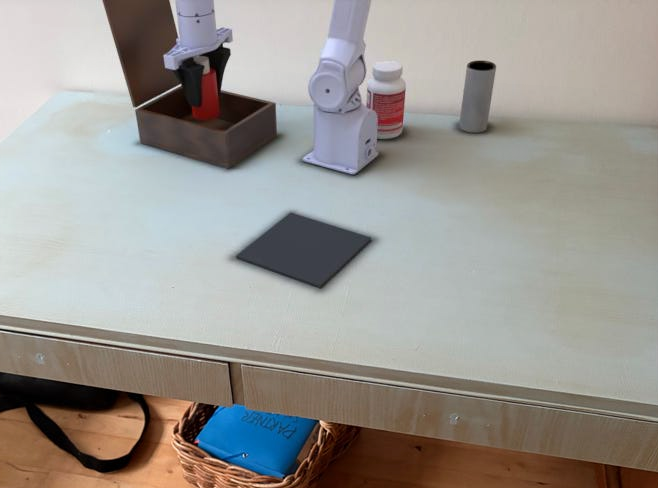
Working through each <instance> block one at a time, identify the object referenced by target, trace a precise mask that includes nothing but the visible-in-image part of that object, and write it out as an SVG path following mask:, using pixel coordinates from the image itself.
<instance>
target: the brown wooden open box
mask: <svg viewBox="0 0 658 488" xmlns="http://www.w3.org/2000/svg"><path fill="white" fill-rule="evenodd" d="M218 102H219V116H218V117H216V118H213V119H210V120H199V119H196V118H194V117H193V113H192V106H191V105H189V103H188V100H187V98H186V95H185V92H184V90H183V88H182V86H181V85H179V86H177V87H175V88H173V89H171V90H169V91H167V92H165V93H163V94H161V95H159V96H158V97H156V98H154V99H152V100H150V101H148V102H146V103H144V104H142V105H140V107H139V106H138V107H137V108H136V109H135V110H134V113H135V118H136V123H137V131H138V137H139V142H140V144H143V145H146V146H149V147H153V148H155V149H159V150H163V151H166V152H168V153H169V152H170V153H173V154H176V155H180V156H183V157H187V158H189V159H193V160H197V161H200V162H204V163H207V164H209V165H213V166H217V167H220V168H224V169H226V170H227V169H230V168H232V167H233V166H235V165H236V164H238V163H240V161H243V160H244V159H245V158H247V157H248V156H250V155H252V153H254V152H256V151H257V150H259V149H261V147H263V146H264V145H266V144H268V143H270V141H273V140H274V139H275V138H277V137H278V130H277V105H276V102H274V101H270V100H267V99H266V100H265V99H261V98H258V97H253V96H249V95H244V94H240V93H235V92H232V91H227V90H224V89H223V90H222V89H221V92H220V96H218Z"/></svg>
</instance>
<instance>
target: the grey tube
mask: <svg viewBox="0 0 658 488" xmlns="http://www.w3.org/2000/svg"><path fill="white" fill-rule="evenodd" d="M465 69H466V70H465V77H464V85H463V93H462V101H461V109H460V117H459V129H460V130H462V131H463V132H467V133H473V134H476V133H477V134H478V133H482V132H484V131H487V128H488V123H489V118H490V117H489V116H490V110H491V103H492V98H493V97H492V96H493V92H494V91H493V90H494V84H495V79H496V78H495V77H496V71H497V64H495V63H494V62H492V61H489V60H481V59H480V60H479V59H478V60H472V61H470V62H468V63H467V65H466V68H465Z"/></svg>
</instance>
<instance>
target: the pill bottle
mask: <svg viewBox="0 0 658 488" xmlns="http://www.w3.org/2000/svg"><path fill="white" fill-rule="evenodd" d="M403 72H404V71H403V64H402V63H401V62H398V61H393V60H381V61H377V62H375V63H373V65H372V72H371V73H372V77H371V78H370V79H369V80H368V82H367V84H366V104H365V106H366V107H367V108H369V109H372V110H374V111H375V112H376V114H377V117H378V128H377V140H378V139H380V140H388V139H393V138H396V137H399V136H400V135H401V134H402V133H403V129H404V116H405V115H404V114H405V104H406V103H405V101H406V89H407V88H406V87H407V84H406V81H405V79H404V78H402V76H403Z"/></svg>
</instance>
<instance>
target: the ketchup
mask: <svg viewBox="0 0 658 488" xmlns="http://www.w3.org/2000/svg"><path fill="white" fill-rule="evenodd" d="M194 61H196V64H200V65H204V66H205V67H204V71H203V75H202V84H201V90H202V104H201V106H200V107H195V106H192V113H193V117H194V118H196V119H199V120H210V119H213V118H216V117H218V116H219V102H218V91H217V80H216V71H215V69H213V68H210V66H209V58H208V57H206V56H197V57H195V58H194Z"/></svg>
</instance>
